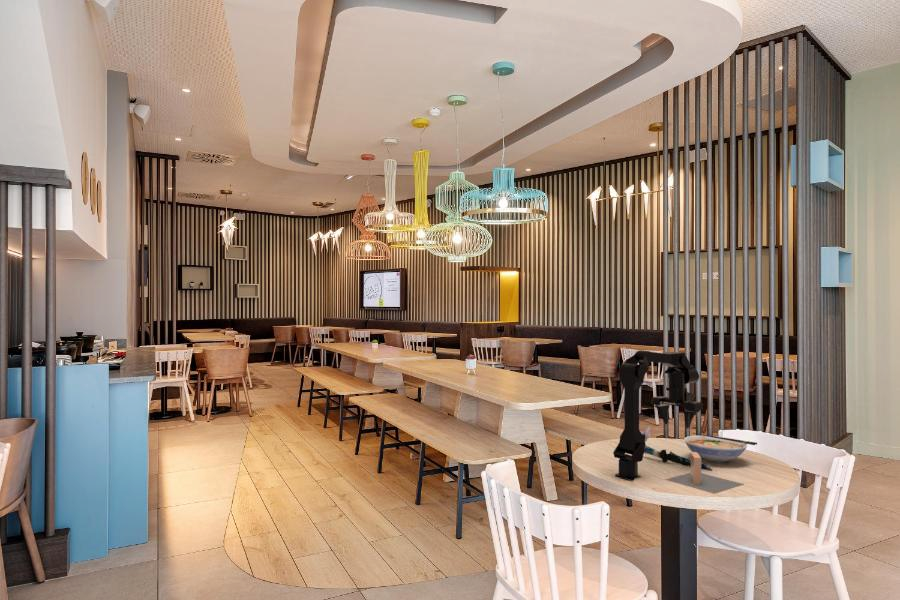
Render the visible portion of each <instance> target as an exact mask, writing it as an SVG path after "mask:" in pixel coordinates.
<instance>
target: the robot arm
mask: <svg viewBox="0 0 900 600" xmlns="http://www.w3.org/2000/svg"><path fill="white" fill-rule="evenodd" d="M686 355H687V354H686V353H685V352H681V351H680V352H679V351H664V352H655V351H649V350H640V349H639V350H637V351H636V352H635V353H634V354H633V355H632V356H629V358H626V359H625V361H623V363H622V364H621V366H620V367H619V369H618V376H619V381H620V383H621V385H622V387H623V388H624V389H623V390H624V393H623V394H624V398H623V399H624V400H623V401H624V407H623V408H624V414H623V415H624V429H623V430H622V432H621V434H620V436H619V442H618V444H617V446H616V447H615V449H614V450H613V453H612V454H613V457H614V458H616V459H618V473H615V474H614V475H615V477H617V478H620V479H624V480H626V481H632V480H635V479H638V478H641V477H642V476H641V475H639V473H638V471H639V469H638V468H639V464H638V463H640V462H642V461H643V458H644V454H645V452H644V450H645V446H647V445H646V442H645V438H646V437H645V434H641V432H640V388H641V386H643V384H644V381H645V375H646V374H647V372H648V371H649V370H650V363H659V364H662V365H663V366H667V369H665V370H664V374H667V380H668V381H667V382H668V383H667V386H666V387H665V390H666V391H668V396H663V395H659V396H653V397H652V399H651V405H653V406H654V408H656V409H657V411H658V413H659V414H660V417H661V419H662V420H663V422H664V424H665V425H668V424H669V408H670V406H675V407H681V408H684V409H685V410H683V415H684V422H685V428H686V430H687V429H690V427H691V424H692V422H693V418H695V415H696V414H697V413H699V412H701V411H703V410H704V405H703V403H702V402H701V401H694V400H695V397H696V395H695V394H694V393H692V392H688V389H687V387H685V385H687V384H694V383H697V382H698V381H699V379H700V374H699V372H698V370H697V369H696V368H695V365H691V362H690V361H689V358H688V356H686ZM640 362H642V363H641V364H639V363H640Z"/></svg>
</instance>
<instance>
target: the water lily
mask: <svg viewBox="0 0 900 600" xmlns="http://www.w3.org/2000/svg"><path fill="white" fill-rule="evenodd" d="M639 430H640V429H639ZM650 431H651V426H649V427H648V429H647V428H645V429H644V430H643V431H642V430H640V432H641V434H645V437H646V438H645V443H646V442H647V441H648V440H649V438H650V436H651V434H652V433H651V432H650Z"/></svg>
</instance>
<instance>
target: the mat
mask: <svg viewBox="0 0 900 600" xmlns="http://www.w3.org/2000/svg"><path fill="white" fill-rule="evenodd" d="M664 480H666V481H669V482H673V483H676V484H679V485H682V486H686V487H688V488H689V487H690V488H692V489H697V490H700V491H702V492H703V491H704V492H707V493H711V494H718V493H722V492H724V491H728V490H730V489H731V490H732V489H735V488H738V487H740V486H744V485H745V483H741V482H737V481H733V480H729V479H726V478H723V477H722V478H721V477H718V476H715V475H710V474H706V473H703V472H701V485H694V483H693V481H692V479H691V472H688V473H684V474H681V475H676V476H674V477H669V478H665V479H664Z"/></svg>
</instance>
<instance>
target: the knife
mask: <svg viewBox="0 0 900 600" xmlns="http://www.w3.org/2000/svg"><path fill="white" fill-rule="evenodd" d="M644 454H647V455H651V456H654V457H656V458H659V459H661V460H662V463H667V462H668V461H670V462H672V463H675V464H678V465H681V466H684V467H691V458H687V457H684V456H680V455H678V454H676V453H674V452H672V451H670V452H669V453H667V450H666V449H661V450H660V451H659V450H657V449H655V448H653V447H650V446H648V445H646V446H645V450H644ZM701 470H706V471H711V472H713V470H714V469H712V468H711V467H710V466H709V465H707V464H705V463H703V462H701Z"/></svg>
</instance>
